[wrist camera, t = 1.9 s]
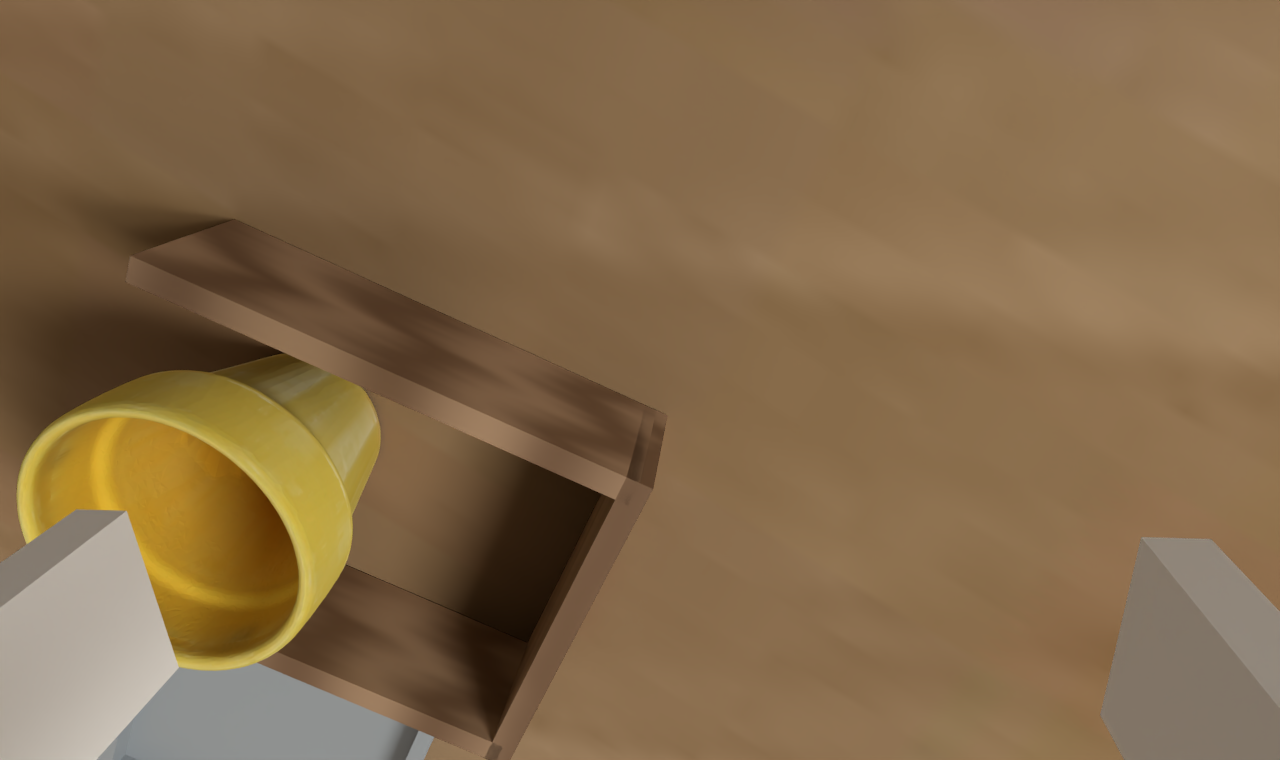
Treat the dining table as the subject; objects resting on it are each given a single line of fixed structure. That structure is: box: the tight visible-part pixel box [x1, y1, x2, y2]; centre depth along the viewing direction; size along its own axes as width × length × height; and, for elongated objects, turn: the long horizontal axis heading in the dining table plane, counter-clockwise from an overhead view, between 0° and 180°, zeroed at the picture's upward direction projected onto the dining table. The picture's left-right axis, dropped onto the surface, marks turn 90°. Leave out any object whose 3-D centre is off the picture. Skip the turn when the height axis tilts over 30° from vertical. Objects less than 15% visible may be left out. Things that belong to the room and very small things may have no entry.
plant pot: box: [17, 353, 381, 671], centre depth 31 cm, size 10×10×10 cm
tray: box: [97, 663, 434, 760], centre depth 41 cm, size 16×16×2 cm
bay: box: [125, 219, 667, 760], centre depth 33 cm, size 19×15×6 cm
